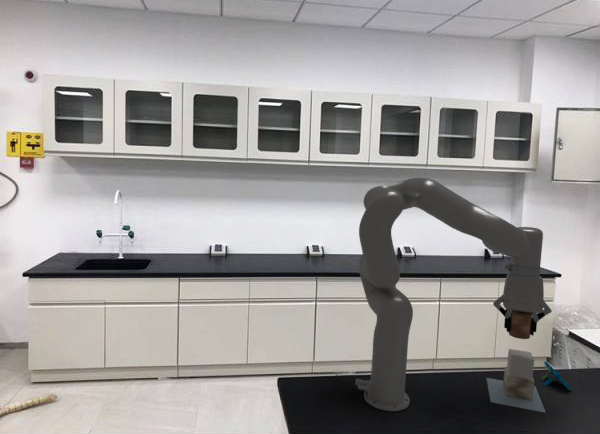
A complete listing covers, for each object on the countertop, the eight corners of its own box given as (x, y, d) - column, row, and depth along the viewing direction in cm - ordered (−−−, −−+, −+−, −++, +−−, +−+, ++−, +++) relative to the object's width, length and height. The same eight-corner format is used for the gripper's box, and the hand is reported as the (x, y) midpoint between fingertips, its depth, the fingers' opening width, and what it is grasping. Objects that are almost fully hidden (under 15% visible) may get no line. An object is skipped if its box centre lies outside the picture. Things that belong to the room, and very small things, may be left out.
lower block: (505, 396, 130) (507, 376, 129) (503, 385, 137) (504, 366, 136) (532, 401, 128) (534, 381, 127) (528, 389, 134) (530, 371, 134)
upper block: (509, 376, 130) (511, 356, 129) (506, 367, 135) (508, 348, 135) (532, 380, 128) (534, 360, 127) (528, 371, 133) (530, 352, 133)
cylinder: (509, 337, 126) (511, 313, 126) (507, 330, 132) (509, 307, 131) (531, 340, 125) (533, 316, 124) (528, 333, 130) (530, 310, 129)
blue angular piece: (578, 392, 132) (553, 364, 134) (561, 404, 133) (536, 376, 135) (565, 380, 143) (542, 355, 144) (550, 391, 143) (527, 366, 145)
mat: (490, 403, 126) (490, 401, 126) (486, 379, 141) (486, 377, 141) (545, 414, 122) (545, 412, 122) (535, 387, 137) (535, 386, 137)
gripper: (493, 270, 125) (488, 332, 127) (562, 276, 120) (555, 341, 122) (491, 265, 132) (486, 323, 134) (556, 271, 127) (550, 332, 129)
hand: (519, 331), depth 128 cm, fingers closed on cylinder, 5 cm apart
